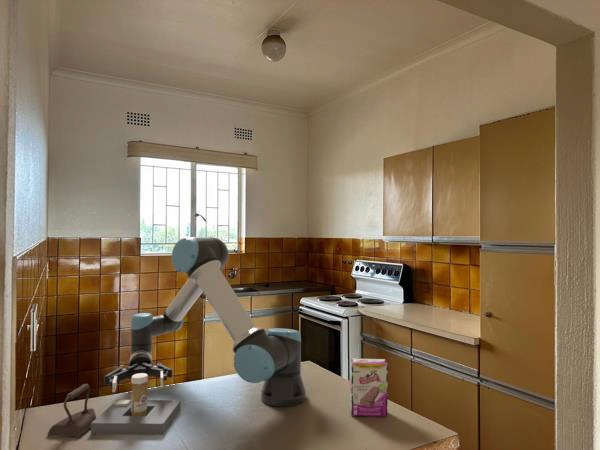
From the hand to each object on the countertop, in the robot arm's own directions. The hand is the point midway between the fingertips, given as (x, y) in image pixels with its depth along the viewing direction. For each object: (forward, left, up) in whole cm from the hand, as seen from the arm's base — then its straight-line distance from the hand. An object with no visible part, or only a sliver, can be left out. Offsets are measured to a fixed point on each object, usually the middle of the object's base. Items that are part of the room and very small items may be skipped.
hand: (138, 384), depth 122 cm
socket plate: (-1, +3, -10) cm, 10 cm away
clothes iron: (+15, +6, -10) cm, 19 cm away
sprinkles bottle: (-1, +3, -10) cm, 10 cm away
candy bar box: (-70, -3, -10) cm, 71 cm away
